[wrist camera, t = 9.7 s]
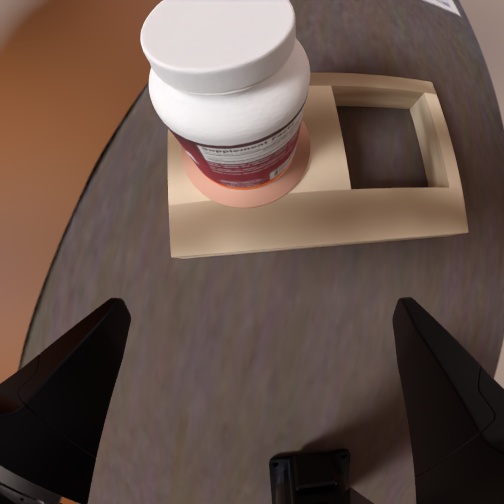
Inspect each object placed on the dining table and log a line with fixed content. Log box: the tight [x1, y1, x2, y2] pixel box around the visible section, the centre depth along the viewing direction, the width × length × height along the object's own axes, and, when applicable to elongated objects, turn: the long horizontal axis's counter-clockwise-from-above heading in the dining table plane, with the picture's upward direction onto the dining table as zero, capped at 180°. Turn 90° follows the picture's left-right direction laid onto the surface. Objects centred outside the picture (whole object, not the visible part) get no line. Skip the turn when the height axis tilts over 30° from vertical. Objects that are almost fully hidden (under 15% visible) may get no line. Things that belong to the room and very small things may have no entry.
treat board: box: [168, 73, 468, 258], centre depth 19 cm, size 12×20×3 cm, turn 95°
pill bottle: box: [141, 0, 310, 191], centre depth 12 cm, size 6×6×11 cm
